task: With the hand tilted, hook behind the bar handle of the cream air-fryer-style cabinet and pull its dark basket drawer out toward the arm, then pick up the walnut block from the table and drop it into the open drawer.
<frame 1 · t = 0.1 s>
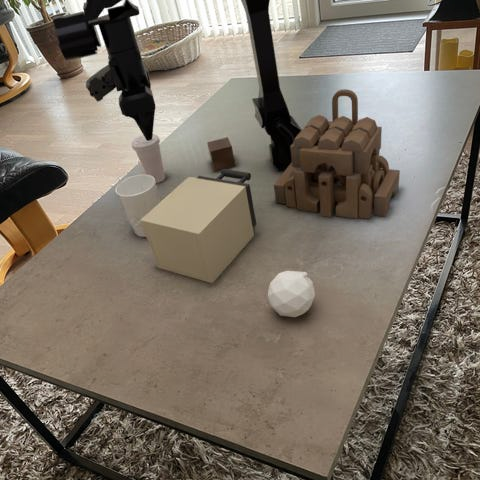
hand: (148, 130, 99), 15 cm above the table, tool pointing down, fingers open, 9 cm apart
drawer: (215, 212, 91), point 5 cm above the table, slide at 1.0 cm
smoothie: (157, 179, 115), on the table
ornament: (293, 310, 77), on the table
wooden puzzle: (336, 196, 97), on the table
block: (223, 164, 115), on the table
white cup: (150, 228, 101), on the table
cabinet: (206, 251, 92), on the table
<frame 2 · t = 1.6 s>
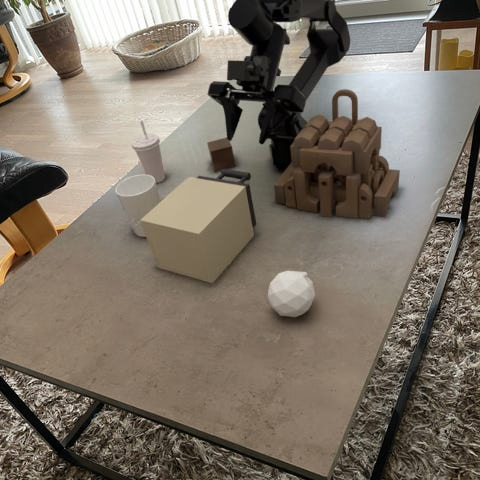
hand: (244, 141, 93), 13 cm above the table, tool tilted 45°, fingers open, 7 cm apart
nothing on the table moved.
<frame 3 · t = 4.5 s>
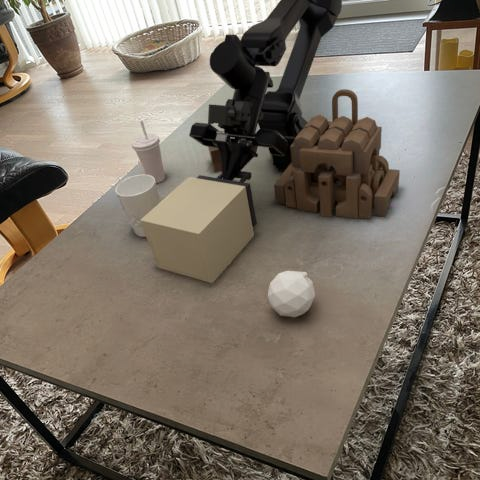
hand: (226, 184, 91), 8 cm above the table, tool tilted 45°, fingers closed, pressing on drawer
drawer: (216, 212, 91), point 5 cm above the table, slide at 1.2 cm, touching gripper
everything else where it was.
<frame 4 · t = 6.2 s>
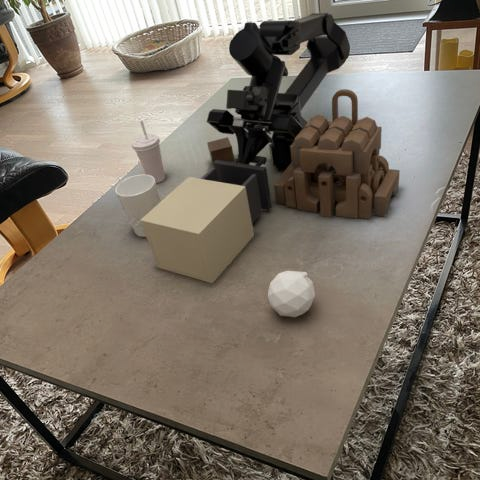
hand: (242, 168, 95), 8 cm above the table, tool tilted 50°, fingers closed, pressing on drawer
drawer: (232, 195, 94), point 5 cm above the table, slide at 7.1 cm, touching gripper
everything else where it was.
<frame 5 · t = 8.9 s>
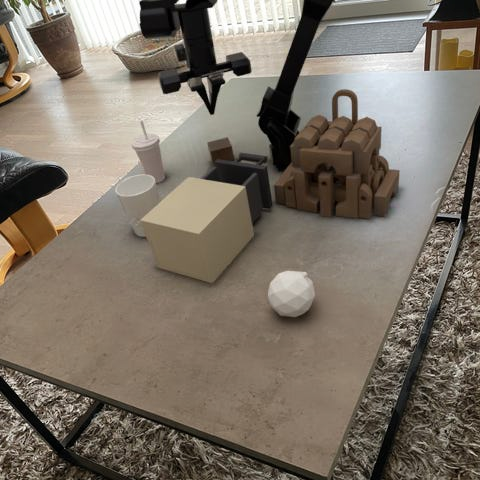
hand: (211, 114, 106), 12 cm above the table, tool pointing down, fingers closed
drawer: (233, 194, 94), point 5 cm above the table, slide at 7.5 cm
everything else where it was.
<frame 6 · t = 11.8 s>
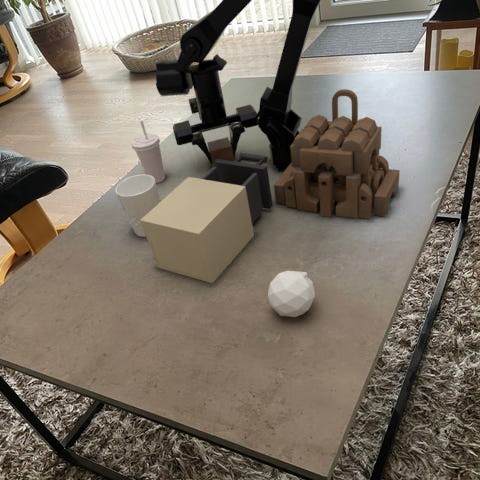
hand: (222, 160, 114), 1 cm above the table, tool pointing down, fingers closed on block, 5 cm apart
block: (223, 164, 115), on the table, touching gripper
everything else where it was.
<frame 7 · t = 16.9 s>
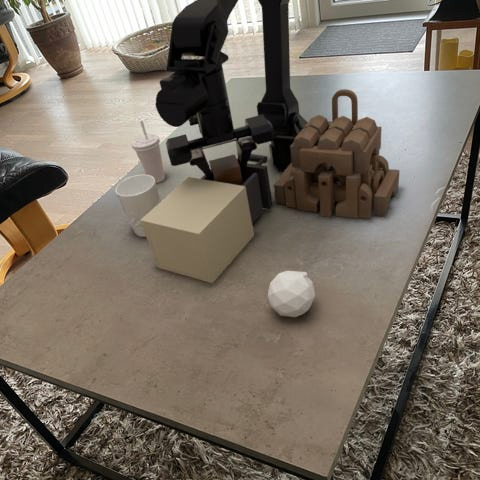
hand: (228, 182, 92), 8 cm above the table, tool pointing down, fingers closed on block, 5 cm apart
block: (229, 187, 93), point 7 cm above the table, touching gripper
everything else where it was.
when the fingers open (11 cm above the table, at t = 30.6 s): block drops 8 cm, resting on drawer.
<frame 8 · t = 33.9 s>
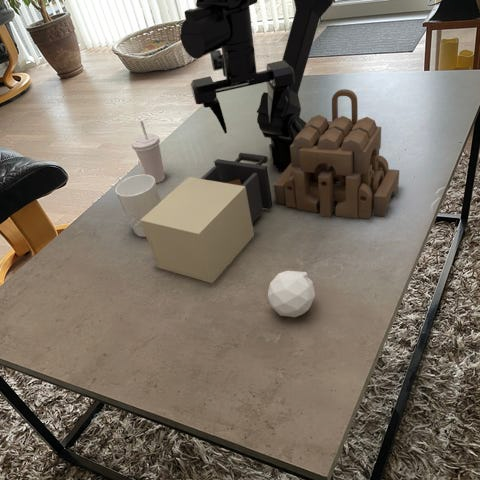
hand: (248, 127, 96), 13 cm above the table, tool pointing down, fingers open, 9 cm apart
drawer: (233, 194, 94), point 5 cm above the table, slide at 7.5 cm, touching block
block: (233, 210, 96), point 2 cm above the table, touching drawer
everything else where it was.
at the end: drawer slide at 7.5 cm; block inside the target area in the drawer (0.7 cm from its centre), point 2.0 cm above the drawer's base; the gripper is holding nothing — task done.
